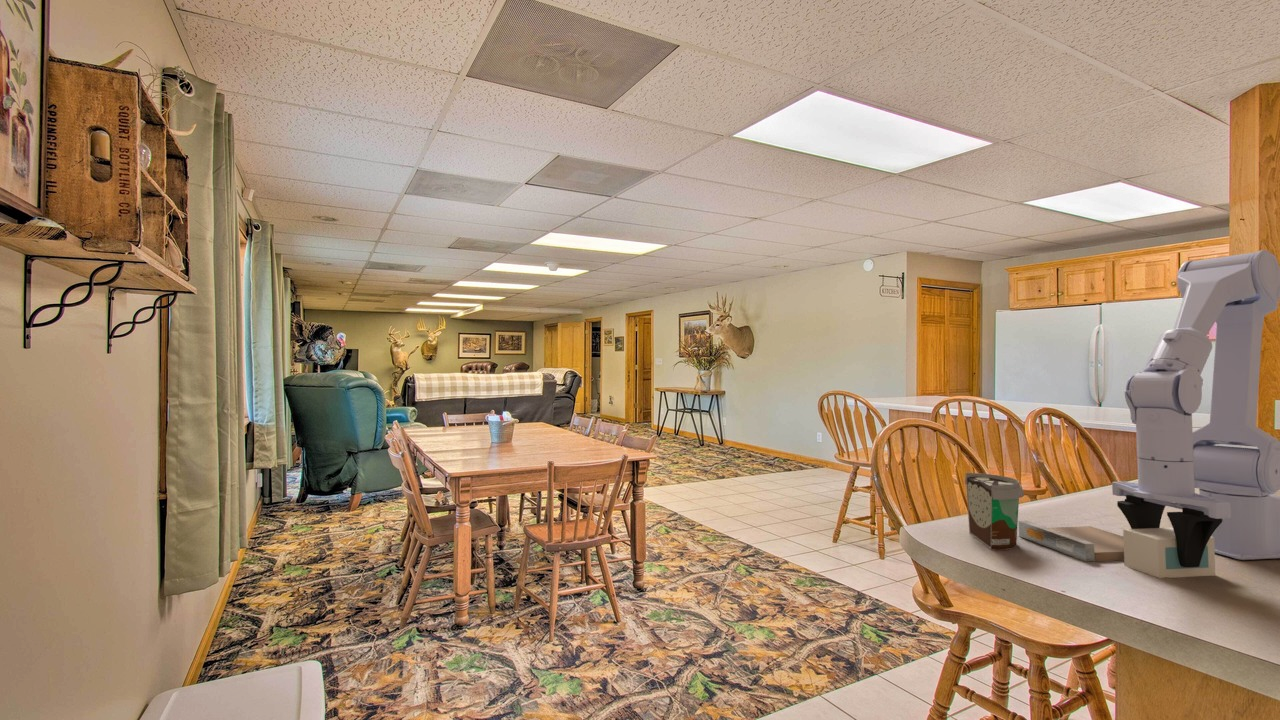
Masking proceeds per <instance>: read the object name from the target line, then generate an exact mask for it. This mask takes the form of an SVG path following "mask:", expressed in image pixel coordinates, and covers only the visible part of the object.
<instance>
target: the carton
mask: <svg viewBox="0 0 1280 720" xmlns="http://www.w3.org/2000/svg"><path fill="white" fill-rule="evenodd" d="M1122 532H1123V534H1122V536H1123V538H1124V560H1123V561H1124V566H1125V567H1128V568H1131V569H1134V570H1136V571H1139V572H1141V573H1144V572H1145V574H1147V573H1148V575H1150V576H1152V575H1153V577H1155V576H1156V577H1155V578H1158V577H1159V578H1158V579H1163V578H1164V577H1169V578H1187V577H1206V576H1207V577H1210V576H1216V557H1215V556H1216V555H1215V554H1216V553H1215V549H1214V537H1210V539H1209V541H1208V543H1207V545H1206V547H1205V550H1204V552H1203V556H1202V559H1201V562H1200V565H1199V567H1183V566H1180V563H1179V559H1178V553H1177V542H1176V537H1175V533H1174V529H1173V527H1172V526H1171V527H1160V528H1146V529H1131V528H1126V529H1125V528H1124V529H1123V528H1122Z"/></svg>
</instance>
